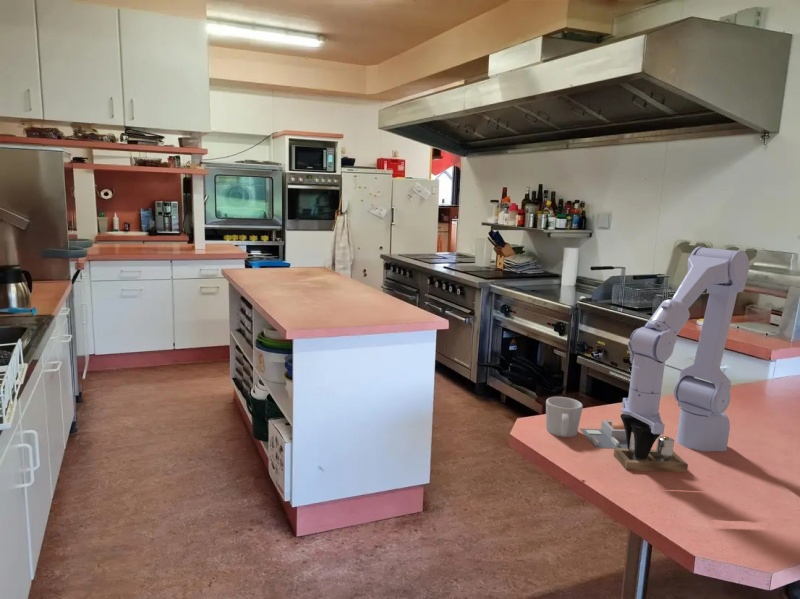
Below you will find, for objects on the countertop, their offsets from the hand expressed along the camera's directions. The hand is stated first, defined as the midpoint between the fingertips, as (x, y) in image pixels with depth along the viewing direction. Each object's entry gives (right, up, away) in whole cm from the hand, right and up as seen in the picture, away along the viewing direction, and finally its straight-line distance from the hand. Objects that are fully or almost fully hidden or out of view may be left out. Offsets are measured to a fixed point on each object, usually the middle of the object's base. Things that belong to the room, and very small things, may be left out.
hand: (637, 454), depth 115 cm
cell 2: (+5, -2, +1) cm, 6 cm away
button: (+2, +1, +14) cm, 14 cm away
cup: (-11, 0, +14) cm, 18 cm away
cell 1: (0, -1, 0) cm, 1 cm away
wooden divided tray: (+3, -3, +1) cm, 4 cm away
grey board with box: (-1, -1, +12) cm, 12 cm away
